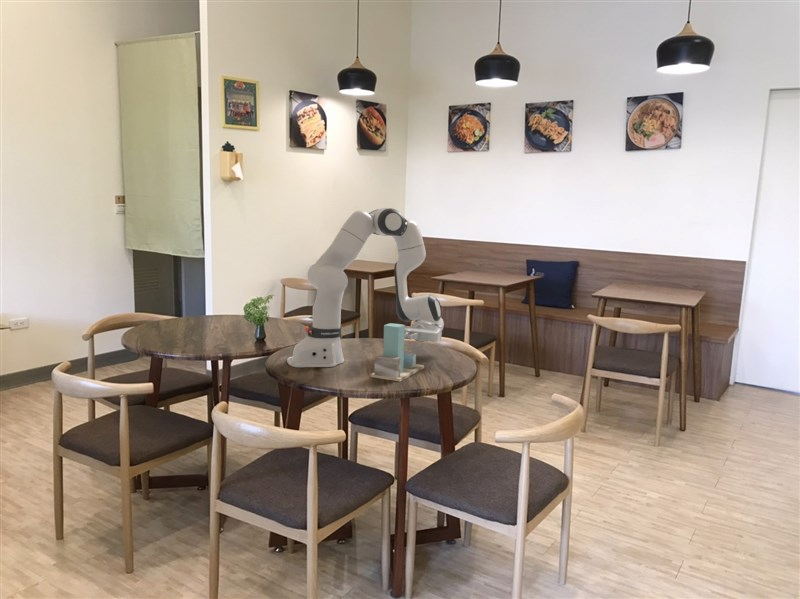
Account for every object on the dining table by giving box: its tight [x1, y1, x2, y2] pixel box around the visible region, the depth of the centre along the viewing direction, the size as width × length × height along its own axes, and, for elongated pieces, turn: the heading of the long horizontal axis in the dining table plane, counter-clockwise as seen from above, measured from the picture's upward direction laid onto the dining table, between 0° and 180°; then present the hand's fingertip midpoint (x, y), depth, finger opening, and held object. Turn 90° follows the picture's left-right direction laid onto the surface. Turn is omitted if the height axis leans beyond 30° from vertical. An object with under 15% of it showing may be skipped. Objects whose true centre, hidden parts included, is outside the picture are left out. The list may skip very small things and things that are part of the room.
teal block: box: [382, 322, 406, 373], centre depth 237 cm, size 5×6×18 cm
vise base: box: [370, 354, 425, 383], centre depth 242 cm, size 22×12×8 cm, turn 155°
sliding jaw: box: [403, 351, 417, 369], centre depth 246 cm, size 3×9×5 cm, turn 65°
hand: (407, 337), depth 248 cm, fingers closed
